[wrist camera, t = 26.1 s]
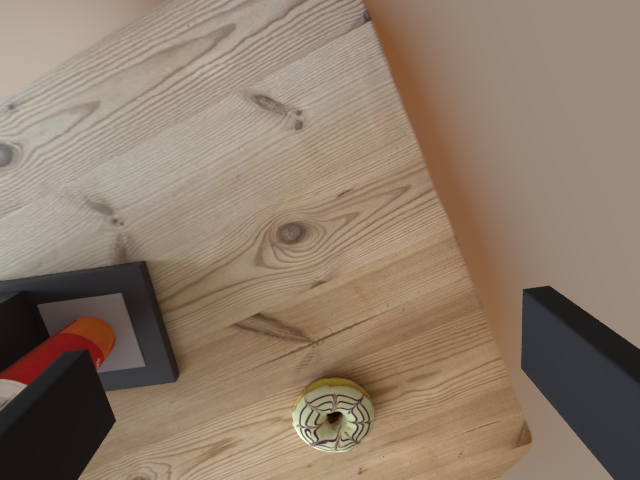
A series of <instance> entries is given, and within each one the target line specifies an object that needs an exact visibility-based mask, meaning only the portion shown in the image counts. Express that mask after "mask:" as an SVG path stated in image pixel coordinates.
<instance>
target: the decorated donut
mask: <svg viewBox="0 0 640 480" xmlns="http://www.w3.org/2000/svg"><path fill="white" fill-rule="evenodd" d="M335 411H339V412H341V414H340V415H339V416H338V417H330V416H328V415H327V414H329V413H333V412H335ZM292 417H293V426H294V428H295V429H296V430H297V433H298V434H299V436H300V437H301V438H302V439H303V440H304V441H305V442H306V443H308V444H309V445H310V446H312V447H315V448H317V449H319V450H322V451H328V452H346V451H349V450H351V449H353V448H354V447H355V446H357V445H358V444H359V443H361V442H362V441H363V440H364V439H365V438H366V437H367V436H368V435H369V433H370V431H371V429H372V427H373V424H374V408H373V403H372V400H371V398H370V396H369V395H368V394H367V393H366V391H365V390H364V389H363V388H362V387H361V386H359V385H358V384H357V383H355V382H354V381H352V380H350V379H346V378H338V377H331V378H322V379H320V380H317V381H315V382H313V383H311V384H310V385H308V386H307V387H306V388H305V390H304V391H303V392H302V393H301V395H300V396H299V398H298V400H297V401H296V403H295V406H294V407H293V414H292Z"/></svg>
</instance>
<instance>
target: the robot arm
mask: <svg viewBox="0 0 640 480" xmlns="http://www.w3.org/2000/svg"><path fill="white" fill-rule="evenodd" d="M522 311H523V312H522V353H521V355H522V356H521V368H522V370H523V371H524V372H525V373H526V375H527V376H528V377H529V378H530V379H531V380H532V382H533V383H534V384H535V385H536V387H537V388H538V389H539V390H540V391H541V392H542V394H543V395H544V396H545V397H546V399H547V400H548V401H549V402H550V403H551V404H552V406H553V407H554V408H555V409H556V410H557V411H558V413H559V414H560V415H561V416H562V418H563V419H564V420H565V421H566V422H567V423H568V425H569V426H570V427H571V428H572V430H573V431H574V432H575V433H576V434H577V436H578V437H579V438H580V439H581V440H582V442H583V443H584V444H585V445H586V446H587V448H588V449H589V450H590V451H591V452H592V454H593V455H594V456H595V457H596V458H597V460H598V461H599V462H600V463H601V464H602V466H603V467H604V468H605V469H606V470H607V471H608V472H609V474H610V475H611V476H612V477H613V479H614V480H640V349H638V348H637V347H636V346H634V345H633V344H631V343H630V342H628V341H627V340H626V339H624V338H623V337H621V336H620V335H618V334H617V333H616V332H614V331H613V330H611V329H610V328H609V327H607V326H606V325H604V324H603V323H601V322H600V321H599V320H597V319H596V318H594V317H593V316H591V315H590V314H589V313H587V312H586V311H584V310H583V309H581V308H580V307H579V306H577V305H576V304H574V303H573V302H572V301H570V300H569V299H567V298H566V297H565V296H563V295H562V294H560V293H559V292H557V291H556V290H554V289H553V288H552V287H550V286H544V287H536V288H529V289H523V309H522ZM115 422H116V420H115V417H114V414H113V412H112V409H111V407H110V404H109V401H108V399H107V396H106V394H105V391H104V388H103V386H102V383H101V381H100V378H99V375H98V373H97V370H96V368H95V365H94V362H93V360H92V357H91V355H90V352H89V349H82V350H74V351H67V352H63V353H62V354H61V355H60V356H59V357H58V358H57V359H56V360H54V361H53V362H52V363H51V364H50V365H49V366H48V367H47V368H46V369H45V370H44V371H43V372H42V373H40V374H39V375H38V376H37V377H36V378H35V379H34V380H33V381H32V382H31V383H30V384H29V385H27V386H26V387H25V388H24V389H23V390H22V391H21V392H20V393H19V394H18V395H17V396H16V397H15V398H13V399H12V400H11V401H10V402H9V403H8V404H7V405H6V406H5V407H4V408H3V409H2V410H0V480H78V478H79V477H80V475H81V474H82V472H83V471H84V469H85V467H86V466H87V464H88V463H89V461H90V460H91V458H92V457H93V455H94V454H95V452H96V451H97V449H98V448H99V446H100V445H101V443H102V442H103V440H104V439H105V437H106V436H107V434H108V432H109V431H110V429H111V428H112V426H113V425H114V423H115Z"/></svg>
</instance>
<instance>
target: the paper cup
mask: <svg viewBox="0 0 640 480" xmlns="http://www.w3.org/2000/svg"><path fill="white" fill-rule="evenodd" d="M114 345H115V335H114V332H113V330H112V329H111V327H110V326H109V325H108V324H107V323H106V322H104V321H103V320H101V319H98V318H95V317H81V318H78V319H76V320H75V321H73V322H71V323H70V324H68V325H67V326H65V327H64V328H63V329H61V330H60V331H58V332H57V333H55V334H54V335H53V336H51V337H50V338H48V339H47V340H46V341H44V342H43V343H41V344H40V345H39V346H37V347H36V348H34V349H33V350H32V351H30V352H29V353H27V354H26V355H25V356H23V357H22V358H21V359H19V360H18V361H16V362H15V363H14V364H12V365H11V366H9V367H8V368H7V369H5V370H4V371H2V372H1V373H0V410H2V409H3V408H4V407H5V406H6V405H7V404H8V403H9V402H10V401H11V400H12V399H13V398H15V397H16V396H17V395H18V394H19V393H20V392H21V391H22V390H23V389H24V388H25V387H26V386H27V385H29V384H30V383H31V382H32V381H33V380H34V379H35V378H36V377H37V376H38V375H39V374H40V373H42V372H43V371H44V370H45V369H46V368H47V367H48V366H49V365H50V364H51V363H52V362H53V361H54V360H56V359H57V358H58V357H59V356H60V355H61V354H62V353H63V352H67V351H74V350H82V349H89V352H90V355H91V357H92V360H93V362H94V365H95V368H96V370H98V369H99V367H100V366H101V365H102V363H103V362H104V361H105V359H106V358H107V356H108V355H109V354H110V352H111V351H112V349H113V347H114Z"/></svg>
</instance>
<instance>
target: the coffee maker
mask: <svg viewBox="0 0 640 480" xmlns="http://www.w3.org/2000/svg"><path fill="white" fill-rule="evenodd" d="M81 317H95V318H98V319H101V320H103V321H104V322H106V323H107V324H108V325H109V326H110V327H111V329H112V330H113V332H114V335H115V345H114V347H113V349H112V351H111V352H110V354H109V355H108V356H107V358H106V359H105V361H104V362H103V363H102V365H101V366H100V367H99V369H98V370H97V373H98V375H99V378H100V381H101V383H102V386H103V388H104V391H112V390H119V389H127V388H135V387H142V386H150V385H157V384H165V383H172V382H176V381H177V379H178V377H179V375H180V374H179V371H178V367H177V364H176V361H175V358H174V354H173V351H172V348H171V345H170V341H169V338H168V335H167V332H166V328H165V325H164V322H163V319H162V315H161V312H160V309H159V305H158V302H157V299H156V296H155V292H154V289H153V286H152V283H151V279H150V276H149V273H148V270H147V266H146V263H145V261H140V262H133V263H126V264H119V265H112V266H105V267H98V268H91V269H84V270H77V271H70V272H63V273H56V274H49V275H42V276H35V277H28V278H21V279H14V280H7V281H0V373H1V372H2V371H4V370H5V369H7V368H8V367H9V366H11V365H12V364H14V363H15V362H16V361H18V360H19V359H21V358H22V357H23V356H25V355H26V354H27V353H29V352H30V351H32V350H33V349H34V348H36V347H37V346H39V345H40V344H41V343H43V342H44V341H46V340H47V339H48V338H50V337H51V336H53V335H54V334H55V333H57V332H58V331H60V330H61V329H63V328H64V327H65V326H67V325H68V324H70V323H71V322H73V321H75V320H76V319H78V318H81Z"/></svg>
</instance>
